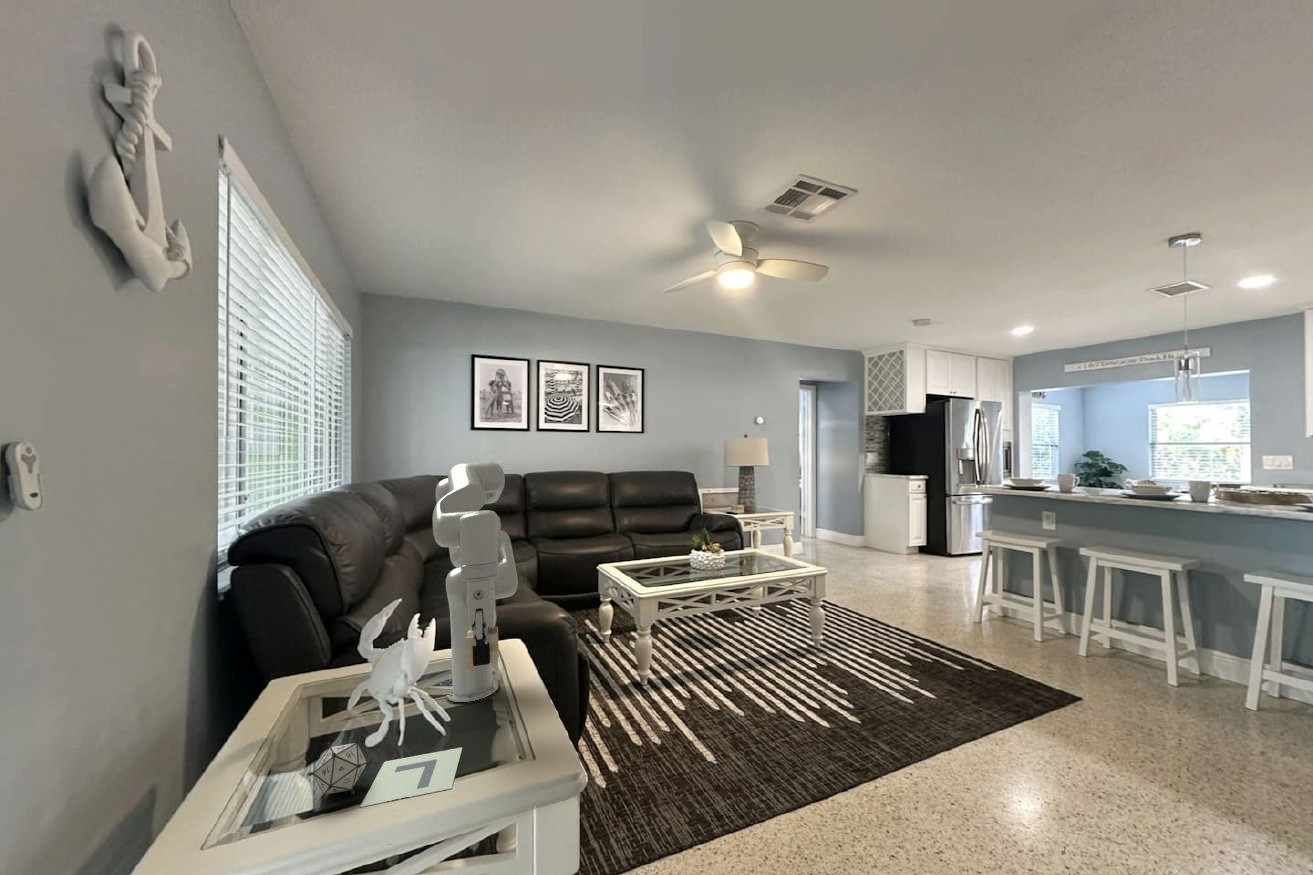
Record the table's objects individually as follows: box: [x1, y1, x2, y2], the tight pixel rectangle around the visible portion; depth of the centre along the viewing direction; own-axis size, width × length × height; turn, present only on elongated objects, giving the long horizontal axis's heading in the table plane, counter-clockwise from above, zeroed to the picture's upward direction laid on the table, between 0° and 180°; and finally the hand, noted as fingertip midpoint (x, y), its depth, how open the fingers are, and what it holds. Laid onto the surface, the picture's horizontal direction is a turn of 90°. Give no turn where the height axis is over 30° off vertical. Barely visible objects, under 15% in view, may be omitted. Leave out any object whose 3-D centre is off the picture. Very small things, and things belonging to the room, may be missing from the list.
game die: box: [306, 737, 373, 801], centre depth 86 cm, size 9×8×10 cm
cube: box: [465, 626, 500, 669], centre depth 104 cm, size 6×6×6 cm
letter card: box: [359, 747, 463, 808], centre depth 90 cm, size 14×14×1 cm
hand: (482, 658), depth 103 cm, fingers closed on cube, 6 cm apart
